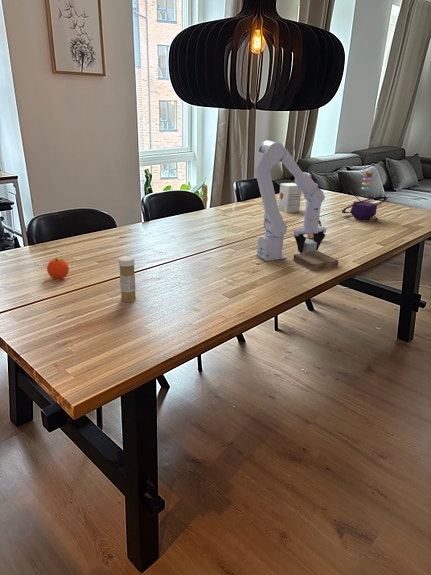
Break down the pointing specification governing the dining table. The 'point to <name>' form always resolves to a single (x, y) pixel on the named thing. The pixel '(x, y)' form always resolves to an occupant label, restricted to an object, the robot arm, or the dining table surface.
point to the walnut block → (315, 260)
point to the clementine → (58, 268)
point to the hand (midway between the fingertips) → (307, 251)
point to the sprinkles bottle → (127, 278)
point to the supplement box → (289, 197)
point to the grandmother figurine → (312, 234)
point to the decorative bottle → (364, 203)
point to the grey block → (309, 246)
